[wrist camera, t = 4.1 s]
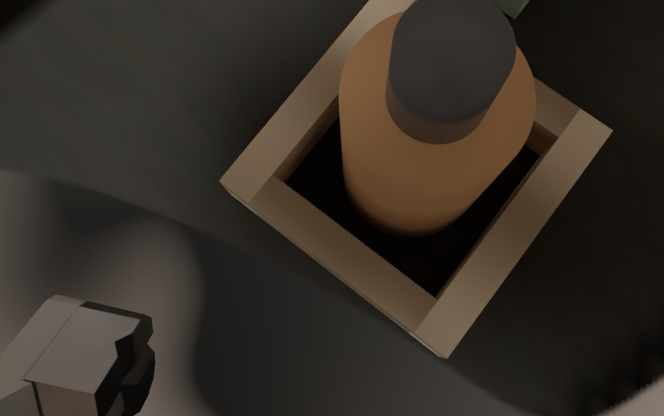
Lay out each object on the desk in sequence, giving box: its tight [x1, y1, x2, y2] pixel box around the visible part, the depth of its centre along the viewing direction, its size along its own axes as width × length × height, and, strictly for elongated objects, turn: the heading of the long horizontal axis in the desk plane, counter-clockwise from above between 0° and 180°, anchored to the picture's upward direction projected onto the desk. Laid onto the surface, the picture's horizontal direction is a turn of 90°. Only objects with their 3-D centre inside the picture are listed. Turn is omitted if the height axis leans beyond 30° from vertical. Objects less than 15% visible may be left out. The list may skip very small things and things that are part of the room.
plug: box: [339, 0, 536, 238], centre depth 17 cm, size 5×5×10 cm
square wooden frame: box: [219, 0, 613, 358], centre depth 20 cm, size 9×9×2 cm
